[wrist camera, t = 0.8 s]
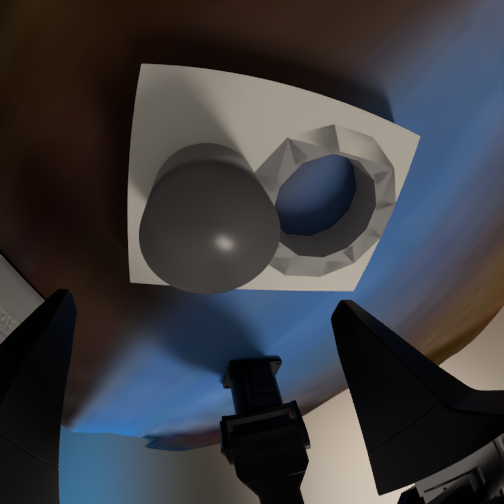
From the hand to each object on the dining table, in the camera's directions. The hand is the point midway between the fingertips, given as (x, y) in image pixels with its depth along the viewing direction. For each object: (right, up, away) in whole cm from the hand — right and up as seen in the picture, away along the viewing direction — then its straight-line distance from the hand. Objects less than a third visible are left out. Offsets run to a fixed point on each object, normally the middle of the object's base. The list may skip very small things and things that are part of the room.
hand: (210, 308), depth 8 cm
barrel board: (+2, +6, +11) cm, 13 cm away
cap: (-1, +5, +7) cm, 9 cm away
